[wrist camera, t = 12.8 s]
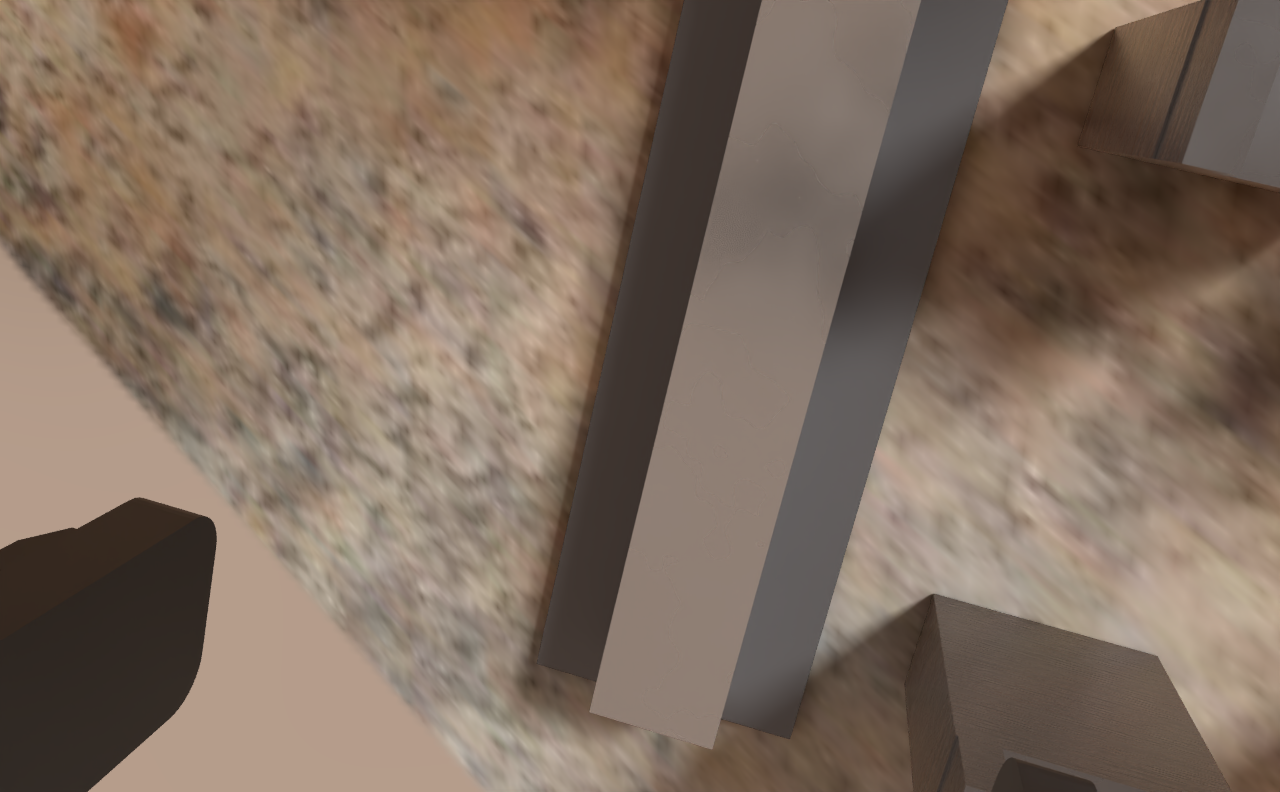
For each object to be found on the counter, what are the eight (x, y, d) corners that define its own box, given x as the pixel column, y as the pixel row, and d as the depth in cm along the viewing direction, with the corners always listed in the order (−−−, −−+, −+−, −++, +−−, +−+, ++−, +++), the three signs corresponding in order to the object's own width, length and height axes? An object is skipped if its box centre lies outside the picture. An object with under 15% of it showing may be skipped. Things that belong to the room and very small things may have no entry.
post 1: (933, 593, 34) (963, 784, 24) (1157, 656, 33) (1279, 879, 23) (904, 684, 35) (922, 903, 25) (1122, 747, 34) (1226, 997, 24)
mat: (724, -165, 30) (722, -170, 29) (1035, -100, 29) (1039, -105, 29) (541, 654, 37) (536, 663, 36) (790, 729, 36) (790, 739, 35)
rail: (802, -111, 29) (795, -139, 26) (940, -81, 29) (950, -106, 26) (614, 655, 35) (589, 712, 32) (726, 688, 35) (712, 749, 32)
